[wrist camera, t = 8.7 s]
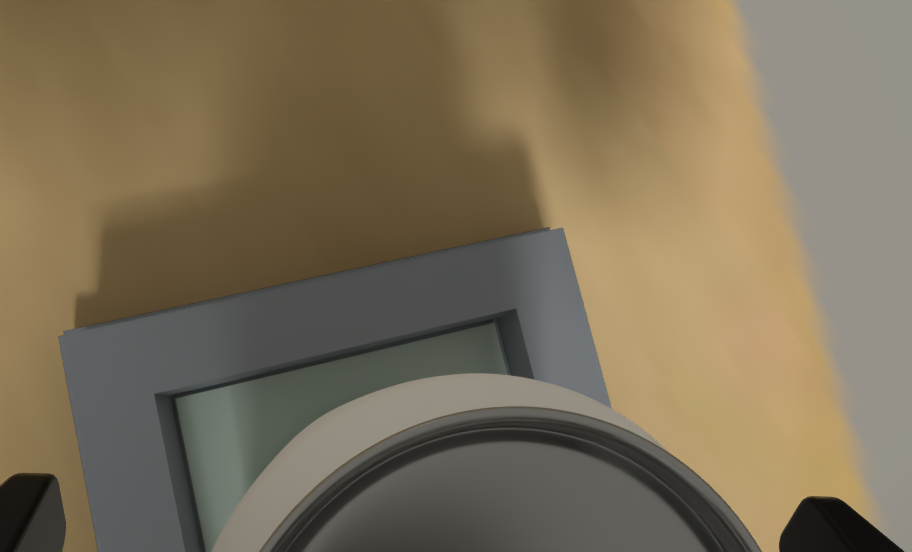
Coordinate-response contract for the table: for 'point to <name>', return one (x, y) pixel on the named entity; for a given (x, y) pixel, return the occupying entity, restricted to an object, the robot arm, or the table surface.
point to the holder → (300, 373)
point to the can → (479, 478)
